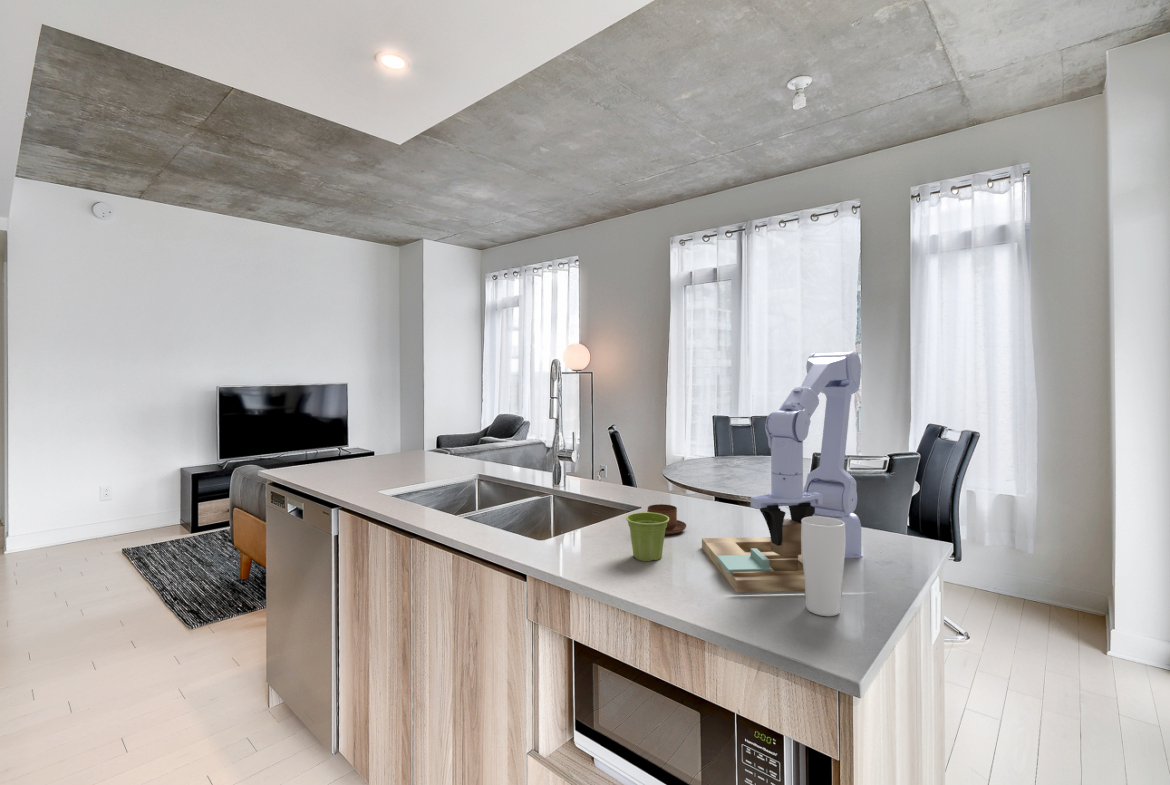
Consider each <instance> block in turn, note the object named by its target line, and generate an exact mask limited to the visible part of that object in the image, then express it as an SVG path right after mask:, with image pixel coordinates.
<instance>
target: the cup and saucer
mask: <svg viewBox="0 0 1170 785" xmlns="http://www.w3.org/2000/svg"><path fill="white" fill-rule="evenodd" d="M647 512H651V513H659V514H663V515H666V516H668V517H669V522H667V527H666V529H665V536H669V535H675V534H679V533H682V532H683V531H684V530H686V528H687V524H686V522H684V521H682V520H678V508H677V506H675V505H671V504H665V503H664V504H662V503H661V504H658V503H657V504H651V505H649V506H647Z"/></svg>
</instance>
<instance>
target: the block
mask: <svg viewBox="0 0 1170 785" xmlns="http://www.w3.org/2000/svg"><path fill="white" fill-rule="evenodd" d="M771 551H773V552H775V553H777V554H779V555H781V556H783V557H784V556H794V555H801V523H799V522H796V521H793V520H791V518H784V521H783V526H782V543H781V545H780V546H777V545H775V544H773V543H772V540H771Z"/></svg>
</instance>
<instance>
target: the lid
mask: <svg viewBox="0 0 1170 785" xmlns="http://www.w3.org/2000/svg"><path fill="white" fill-rule="evenodd" d="M717 560H718V561H719V563H720V564H721V565H722V566H723V568H724V569H725V570H726V571H727V572H728V574H732V572H753V571H771V568H770V567H769V559H768V558H767V557H766V556H765V555H764V554H762V553H761V552H760V551H759V550H758V549H757V548H751V555H727V556H717Z"/></svg>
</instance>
